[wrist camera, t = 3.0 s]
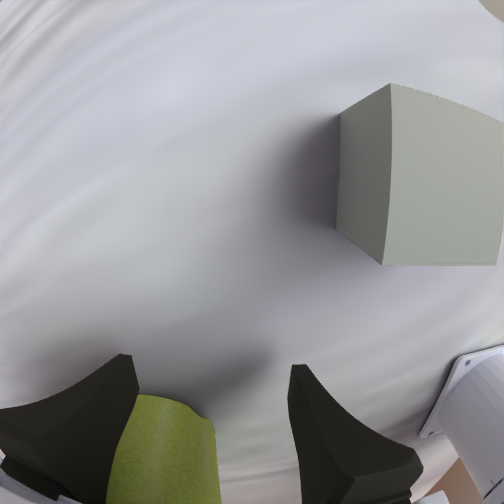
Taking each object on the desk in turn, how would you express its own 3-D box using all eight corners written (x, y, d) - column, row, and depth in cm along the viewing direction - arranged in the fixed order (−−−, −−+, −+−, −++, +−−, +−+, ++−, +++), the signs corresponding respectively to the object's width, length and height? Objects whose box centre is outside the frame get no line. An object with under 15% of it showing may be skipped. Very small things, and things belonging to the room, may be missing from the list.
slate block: (434, 132, 11) (506, 124, 6) (428, 233, 12) (495, 265, 7) (339, 113, 11) (390, 82, 6) (334, 228, 12) (381, 265, 7)
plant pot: (237, 457, 17) (234, 561, 9) (112, 436, 16) (87, 531, 9) (252, 386, 13) (252, 562, 5) (73, 356, 12) (10, 492, 5)
